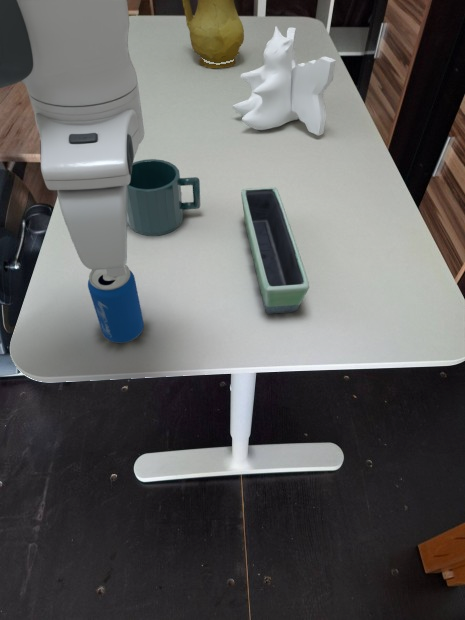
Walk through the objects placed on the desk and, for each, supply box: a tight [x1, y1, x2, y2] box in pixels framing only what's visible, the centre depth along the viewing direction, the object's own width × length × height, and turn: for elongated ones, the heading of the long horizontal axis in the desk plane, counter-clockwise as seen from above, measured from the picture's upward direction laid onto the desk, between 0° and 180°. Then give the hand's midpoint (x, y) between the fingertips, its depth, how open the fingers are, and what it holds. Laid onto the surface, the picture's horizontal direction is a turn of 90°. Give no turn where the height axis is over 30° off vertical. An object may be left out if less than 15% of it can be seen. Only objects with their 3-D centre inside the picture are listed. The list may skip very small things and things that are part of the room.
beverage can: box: [87, 264, 145, 344], centre depth 66 cm, size 6×6×12 cm
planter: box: [240, 186, 310, 315], centre depth 79 cm, size 28×7×7 cm, turn 7°
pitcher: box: [181, 0, 245, 69], centre depth 139 cm, size 17×19×25 cm
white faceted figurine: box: [232, 25, 337, 136], centre depth 112 cm, size 25×21×21 cm
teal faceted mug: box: [127, 158, 201, 237], centre depth 87 cm, size 15×11×10 cm
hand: (118, 242), depth 49 cm, fingers open, 8 cm apart
